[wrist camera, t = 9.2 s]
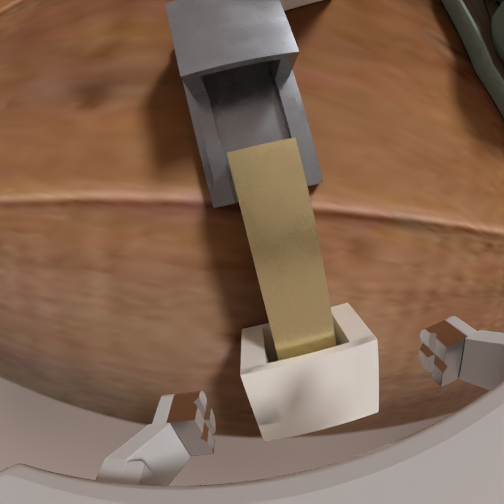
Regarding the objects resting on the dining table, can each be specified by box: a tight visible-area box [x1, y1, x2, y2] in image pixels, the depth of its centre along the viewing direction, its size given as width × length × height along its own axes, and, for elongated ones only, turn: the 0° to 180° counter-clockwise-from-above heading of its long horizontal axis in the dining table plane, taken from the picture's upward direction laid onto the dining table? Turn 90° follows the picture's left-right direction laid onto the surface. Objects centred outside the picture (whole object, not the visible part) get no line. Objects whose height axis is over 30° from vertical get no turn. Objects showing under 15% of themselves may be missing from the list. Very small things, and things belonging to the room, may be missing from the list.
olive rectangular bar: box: [227, 138, 336, 361], centre depth 20 cm, size 4×16×4 cm, turn 14°
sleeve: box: [165, 0, 323, 208], centre depth 17 cm, size 8×14×6 cm, turn 14°
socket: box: [240, 303, 379, 442], centre depth 21 cm, size 9×7×6 cm
